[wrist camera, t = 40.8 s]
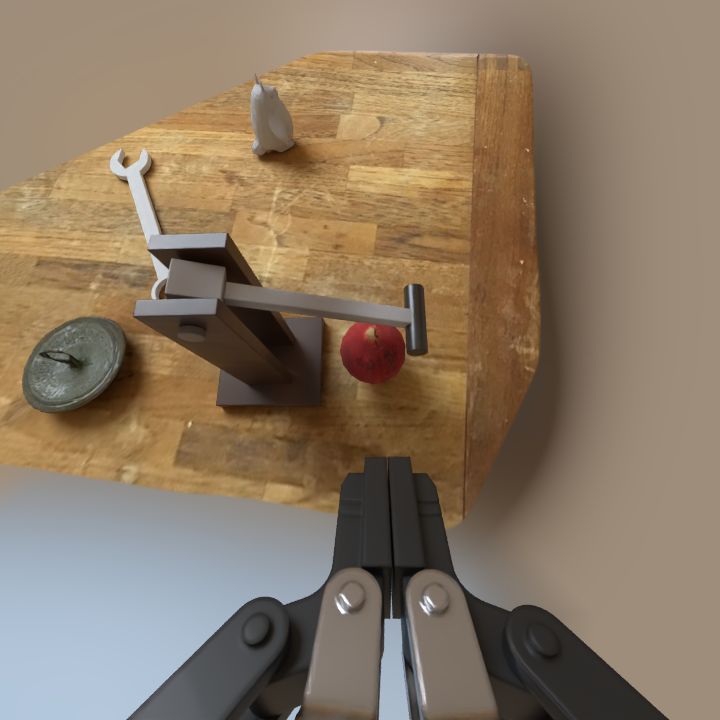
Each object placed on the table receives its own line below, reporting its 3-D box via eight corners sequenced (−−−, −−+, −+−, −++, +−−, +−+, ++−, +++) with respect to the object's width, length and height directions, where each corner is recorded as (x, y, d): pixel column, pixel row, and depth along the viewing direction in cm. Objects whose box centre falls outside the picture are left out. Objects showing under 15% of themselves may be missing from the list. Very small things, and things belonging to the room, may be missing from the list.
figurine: (309, 157, 41) (295, 90, 34) (268, 177, 41) (244, 113, 33) (281, 118, 43) (262, 47, 36) (241, 137, 43) (213, 68, 35)
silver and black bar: (414, 297, 25) (430, 281, 23) (418, 359, 24) (435, 348, 22) (183, 260, 21) (174, 235, 18) (169, 334, 19) (158, 317, 17)
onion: (414, 368, 33) (425, 340, 25) (367, 402, 32) (364, 384, 24) (378, 325, 34) (379, 286, 26) (333, 357, 33) (320, 326, 26)
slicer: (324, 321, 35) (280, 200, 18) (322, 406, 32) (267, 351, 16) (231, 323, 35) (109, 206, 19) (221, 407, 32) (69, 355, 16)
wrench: (146, 145, 43) (110, 159, 43) (142, 140, 42) (106, 154, 42) (199, 299, 36) (156, 317, 35) (196, 296, 35) (152, 314, 35)
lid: (93, 433, 34) (60, 434, 29) (4, 383, 33) (-45, 375, 28) (161, 349, 37) (141, 337, 32) (81, 301, 36) (48, 282, 31)
